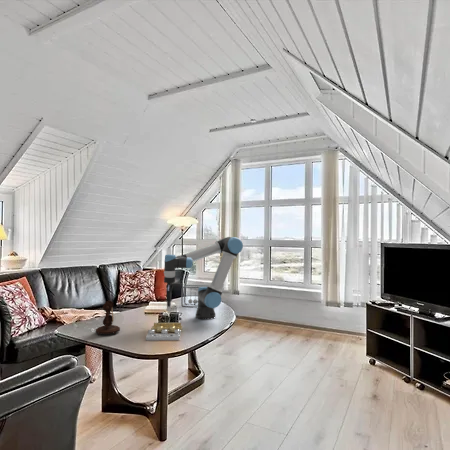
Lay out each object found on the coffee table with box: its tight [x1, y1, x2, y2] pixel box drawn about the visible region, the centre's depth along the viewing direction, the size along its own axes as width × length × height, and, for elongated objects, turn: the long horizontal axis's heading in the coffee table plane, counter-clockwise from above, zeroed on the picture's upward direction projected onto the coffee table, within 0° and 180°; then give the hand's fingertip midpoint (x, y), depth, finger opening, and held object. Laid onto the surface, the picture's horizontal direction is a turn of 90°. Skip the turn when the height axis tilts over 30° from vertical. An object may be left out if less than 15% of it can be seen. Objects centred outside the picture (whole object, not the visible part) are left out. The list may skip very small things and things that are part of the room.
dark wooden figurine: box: [95, 300, 121, 336], centre depth 226 cm, size 15×15×20 cm
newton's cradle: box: [180, 284, 210, 308], centre depth 307 cm, size 30×10×18 cm, turn 82°
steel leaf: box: [145, 329, 182, 341], centre depth 217 cm, size 20×11×4 cm, turn 92°
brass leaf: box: [150, 322, 184, 333], centre depth 231 cm, size 20×11×4 cm, turn 92°
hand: (168, 310), depth 246 cm, fingers closed
